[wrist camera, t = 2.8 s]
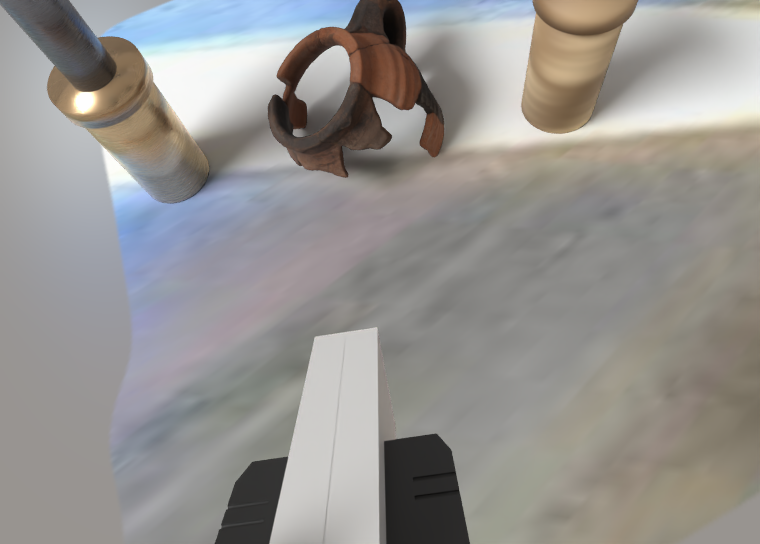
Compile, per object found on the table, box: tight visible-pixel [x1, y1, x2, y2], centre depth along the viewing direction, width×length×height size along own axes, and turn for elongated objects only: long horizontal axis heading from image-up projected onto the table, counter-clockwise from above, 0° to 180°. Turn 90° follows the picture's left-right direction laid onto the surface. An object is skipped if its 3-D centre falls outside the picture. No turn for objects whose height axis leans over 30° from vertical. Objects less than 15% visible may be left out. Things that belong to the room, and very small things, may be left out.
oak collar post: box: [521, 0, 638, 133], centre depth 31 cm, size 5×5×9 cm
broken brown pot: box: [268, 0, 444, 177], centre depth 34 cm, size 12×10×8 cm
